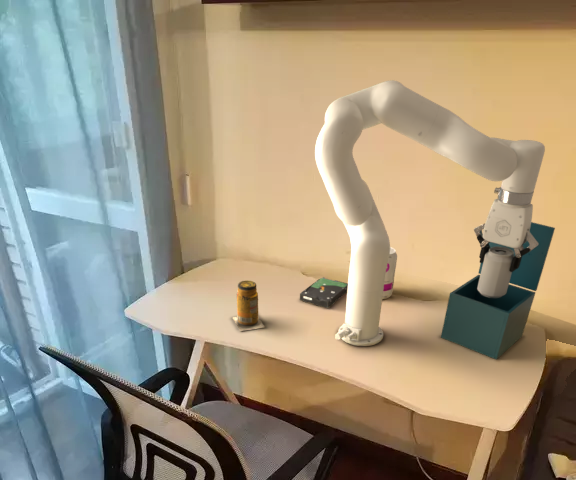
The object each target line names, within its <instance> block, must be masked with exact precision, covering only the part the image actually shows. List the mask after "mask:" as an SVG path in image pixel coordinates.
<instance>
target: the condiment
mask: <svg viewBox="0 0 576 480" xmlns="http://www.w3.org/2000/svg"><path fill="white" fill-rule="evenodd" d="M258 293H259V292H258V290H257V283H256V282H255V281H252V280H241V281H239V282H238V283H237V292H236V310H237V311H236V312H237V314H236V315H237V316H233V317H232V319H233V321H234V323H235V324H236V326H237V328H238V329H239V331H250V330H256V329H263V328H265V325H264V323H263V322H262V321H261V320H260V317H259V294H258Z"/></svg>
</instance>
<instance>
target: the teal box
mask: <svg viewBox="0 0 576 480" xmlns="http://www.w3.org/2000/svg"><path fill="white" fill-rule="evenodd" d="M480 275H481V274H476V275H475V276H474V277H472V278H471V279H469V280H467V281H466V282H465V283H463V284H462V285H460V286H459V287H457V288H456V289H454V290H453V291H451V292H450V293H449V296H448V300H447V305H446V311H445V316H444V319H443V326H442V329H441V335H440V338H441V339H443V340H446V341H449V342H451V343H453V344H454V343H455V344H456V345H459V346H462V347H464V348H467V349H469V350H471V351H474V352H476V353H479V354H481V355H483V356H486V357H489V358H492V359H494V360H498V359H499V358H500V357H501V356H502V355H503V354H505V352H507V351H508V350H509V349H510V348H511V347H512V346H514V345H515V344H516V342H518V341H519V340H520V339H521V338H522V337H523V335H524V331H525V329H526V325H527V321H528V318H529V315H530V312H531V309H532V306H533V302H534V300H535V295H536V293H537V291H533V290H530V289H527V288H524V287H520V286H517V285H514V284H511V283H509V285H508V289H507V293H506V294H505V295H503V296H502V297H499V298H489V297H485V296H483V295H482V294H480V292H479V291H478V289H477V288H478V283H479V279H480Z"/></svg>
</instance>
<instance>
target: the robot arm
mask: <svg viewBox="0 0 576 480" xmlns="http://www.w3.org/2000/svg"><path fill="white" fill-rule="evenodd" d="M380 124H382V125H384V126H385V127H387V128H389V129H391V130H393V131H395V132H397V133H399V134H400V135H403V136H405V137H407V138H409V139H411V140H413V141H414V142H416V143H418V144H420V145H422V146H424V147H426V148H427V149H430V150H431V151H433V152H435V153H436V154H438V155H440V156H442V157H444V158H446V159H448V160H450V161H452V162H453V163H456V164H458V165H459V166H460V167H462V168H465V169H466V170H468V171H470V172H472V173H474V174H476V175H478V176H480V177H482V178H484V179H486V180H488V181H490V182H501V184H500V185H501V186H500V187H495V188H494V190H493V193H494V194H496V195H497V198H495V199H494V200H493V202H492V204H491V206H490V209H489V212H488V214H487V217H486V219H485V222H484V223H483V224H480V225H478V226H476V227H474V229H473V231H474V234H475V236H476V240H477V241H478V244H479V247H480V252H479V263H483V262H484V258H485V254H486V253H487V252H489V249H490V245H489V243H490V242H493V243H496V244H500V245H504V246H507V247H511V248H514V251H515V256H514V257H513V259H512V263H511V266H510V270H509V271H510V272H513V271H515V270H516V269H518V268H519V266H520V262H521V259H522V256H523V255H525V254H527V253H528V252H530V251H531V250H532V249H534V248H535V247H537V246H538V244H539V243H538V242H537V241H536V239H535V238H534V237H533V236H532V234H531V233H530V232H529V231H530V226H531V222H533V221H532V219H533V211H534V210H533V209H534V205H533V203H532V200H533V196H534V193H535V189H536V185H537V182H538V177H539V174H540V170H541V167H542V163H543V160H544V155H545V152H546V146H545V144H544V143H542V142H540V141H538V140H534V139H533V140H531V139H518V140H513V139H512V140H511V139H504V138H499V137H490V136H488V135H487V134H485V133H483V132H481V131H479V130H478V129H476V128H475V127H473V126H472V125H470V124H469V123H467V122H466V121H465V120H464V119H462V118H461V116H459V115H457V114H455V112H453V111H451V110H449V109H448V108H446V107H444V106H442V105H440V104H438V103H436V102H434V101H432V100H431V99H429V98H427V97H425V96H424V95H421V94H419V93H418V92H416V91H414V90H412V89H410V88H409V87H407V86H406V85H404V84H403V83H402V82H400V81H398V80H395V79H394V80H393V79H392V80H391V79H390V80H385V81H382V82H379V83H377V84H374V85H371V86H369V87H366V88H363V89H360V90H358V91H355V92H351V93H349V94H347V95H344V96H340V97H339V98H337V99H335V100H334V101H332V102H331V103H330V104H329V105H328V107H327V108H326V111H325V113H324V124H323V126H322V127H321V129H320V131H319V133H318V136H317V138H316V142H315V148H314V159H315V164H316V167H317V169H318V173H319V175H320V177H321V179H322V181H323V184H324V187H325V189H326V192H327V193H328V196H329V198H330V201H331V203H332V205H333V209H334V212H335V214H336V216H337V217H338V219H339V220H341V222H342V223H343V225H344V228H345V229H346V231H347V234H348V236H349V240H350V247H351V248H350V260H349V261H350V262H349V269H348V270H349V271H348V279H347V283H348V290H347V293H346V304H345V316H344V323H343V324H341V326H339V328H338V332H336V333H335V334H334V338H335V340H337V341H340V340H342V341H343V342H345V343H346V344H349V345H353V346H358V347H369V346H374V345H377V344H379V343H380V342H381V341H382V340H383V339H384V331H383V329H382V328H381V326H380V320H381V312H382V305H383V299H382V297H383V289H384V280H385V273H386V268H387V263H388V259H389V254H390V247H391V242H390V237H389V234H388V231H387V229H386V226H385V224H384V221H383V218H382V217H381V214H380V212H379V210H378V206H377V205H376V202H375V200H374V197H373V195H372V192H371V189H370V188H369V185H368V183H367V182H366V181H365V180H363V178H362V176H361V174H360V171H359V169H358V165H357V163H356V160H355V158H354V155H353V150H354V146H355V144H356V143H357V141H358V140H359V138H360V137H361V135H362V132H363V130H367V129H369V128H372V127H375V126H377V125H380ZM526 241H528V242H529V244H530V245H529V246H528V247H527V248H525V249H524V246H523V244H524V243H526Z"/></svg>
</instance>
